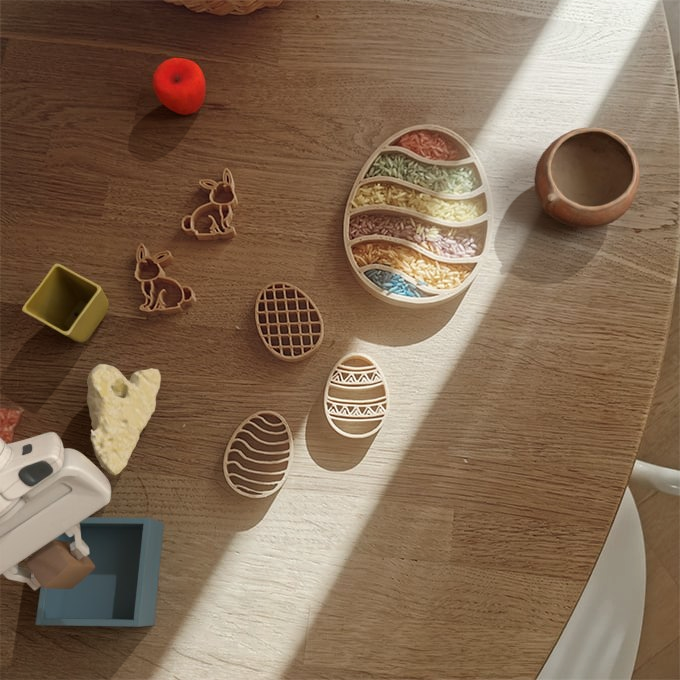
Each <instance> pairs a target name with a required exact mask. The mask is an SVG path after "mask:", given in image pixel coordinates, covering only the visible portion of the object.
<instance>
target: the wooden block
mask: <svg viewBox="0 0 680 680" xmlns="http://www.w3.org/2000/svg"><path fill="white" fill-rule="evenodd" d="M70 544H71V543H70V542H65V541H59V540H52V541H51V542H49V543H48V544H46V545H45V546H43V547H42V548H40V549H39V550H37V551H36V552H34V553H33V554H31V555H30V556H29V558H28V559H26V560H25V561H24V562H25V566H26V567H27V569H29V570H30V571H31V572H32V574H33V575H34V577H35V578H36V579H37V581H38V582H39V583H40V585H41V586H42V587H43V588H51V589H73V588H74V587H75V586H76V585H77V584H78V583H80V582H81V581H82V580H83V579H84V578H85V577H86V576H87V575H88V574H90V573H91V572H92V571H93V570H94V569H95V565H94V563H93V562H92V561H91V559H90V558H89V557H88V556H86V557H84V558H83V559H81V560H80V561H77V560H76V558H75V557H73V556H72V555H71V554H70Z"/></svg>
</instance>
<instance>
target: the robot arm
mask: <svg viewBox="0 0 680 680" xmlns="http://www.w3.org/2000/svg"><path fill="white" fill-rule="evenodd" d="M111 498H112V486H111V483H110V481H109V479H108V478H107V476H106V475H105V474H104V472H102V471H101V470H100V468H99V467H98V466H97V465H96V464H94V462H92V461H91V460H90V459H89V458H88V457H87V456H85V455H84V454H83V453H82V452H80V451H79V450H76V449H74V448H69V447H67V448H66V447H65V448H64V443H63V441H62V438H61V437H60V436H59V435H58V434H57V433H56V432H53V431H49V432H48V431H47V432H44V433H41V434H39V435H35V436H32V437H29V438H25V439H21V440H18V441H14V442H9V443H6V441H5V440H4V439H2V438H1V437H0V576H1V575H3V576H4V577H5V578H6V579H7V580H10V581H14V582H20V583H24V584H25V583H26V584H27V585H28V586H29V587H30V588H31V589H32V590H33V591H37V590H38V589H41V585H40V583H39V582H38V581H37V579H36V578H35V577H34V575H33V574H32V572H31V571H30V570H29V568H28V567H27V568H26V567H24V566H20V565H19V563H21V562H22V561H24V560H25V559H27V558H28V557H31V556H32V555H33V554H35V553H36V552H37V551H38V550H39V549H40V548H42V547H43V546H45V545H46V544H48V543H49V542H51V541H52V540H54V539H55V538H57V537H58V536H60V535H61V534H63V533H64V532H65V533H66V534H67V535H68V536H69V537H72V536H73V534H74V536H75V541H74V542H72V543H71V544H70V554H71V555H72V556H73V557H75V558H76V560H77V561H80V560H81V559H83V558H84V557H86V556H87V555H89V554H90V553H89V548H88V546H87V544H86V543H85V542H84V541H83V540H82V539H81V531H80V522H81V521H83V520H84V519H86V518H87V517H90V516H92V515H93V514H95V513H96V512H98V511H99V510H101V509H102V508H104V507H105V506H108V504H110V502H111Z"/></svg>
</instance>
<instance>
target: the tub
mask: <svg viewBox="0 0 680 680" xmlns="http://www.w3.org/2000/svg"><path fill="white" fill-rule="evenodd" d="M164 526H165V523H164V522H162V521H159V520H157V519H154V518H151V517H99V516H98V517H95V516H93V517H92V516H91V517H90V516H89V517H87V518H86V519H84V520H83V521H81V522H80V531H81V539H82V540H83V541H84V542H85V543H86V544H87V546H88V548H89V553H90V554H89V555H87V556H88V557H89V558H90V559H91V561H92V562H93V563H94V565H95V569H94V570H93V571H92V572H91V573H90V574H88V575H87V576H86V577H85V578H84V579H83V580H82V581H81V582H80V583H78V584H77V585H76V586H75V587H74V588H73V589H51V588H43V587H42V586H41V587H40V588H39V589H40V590H39V596H38V597H39V598H38V604H37V611H36V618H35V622H34V623H35V626H59V627H60V626H65V627H66V626H67V627H71V626H72V627H128V628H129V627H131V628H135V627H136V628H139V627H140V628H141V627H152V626H155V621H156V611H157V602H158V601H157V599H158V589H159V579H160V570H161V569H160V568H161V559H162V546H163V537H164ZM54 540H59V541H65V542H70V543H72V542H74V541H75V536H74V534H73V536H72V537H69V536H68V535H67V534H66V533H65V532H64V533H63V534H61V535H60V536H58V537H57V538H55V539H54Z"/></svg>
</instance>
